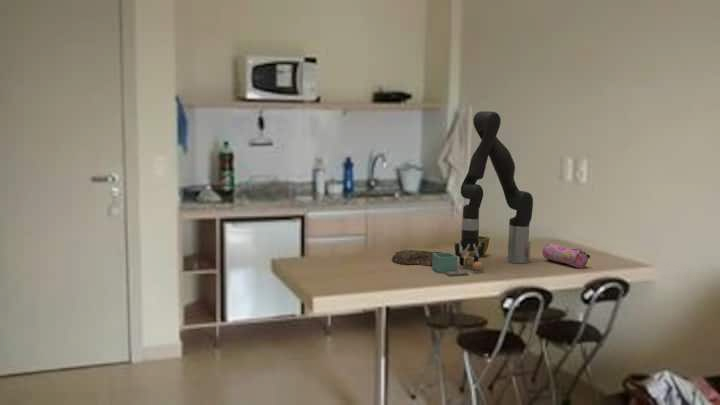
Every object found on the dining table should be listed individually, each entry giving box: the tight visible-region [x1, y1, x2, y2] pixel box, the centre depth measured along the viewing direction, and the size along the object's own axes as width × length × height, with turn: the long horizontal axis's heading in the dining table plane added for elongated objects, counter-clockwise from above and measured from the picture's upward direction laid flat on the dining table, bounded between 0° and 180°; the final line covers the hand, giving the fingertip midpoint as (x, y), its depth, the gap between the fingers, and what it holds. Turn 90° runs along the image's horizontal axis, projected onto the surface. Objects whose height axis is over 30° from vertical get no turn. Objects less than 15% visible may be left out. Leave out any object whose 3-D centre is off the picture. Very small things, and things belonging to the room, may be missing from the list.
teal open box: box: [431, 252, 458, 274], centre depth 320 cm, size 8×8×7 cm
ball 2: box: [473, 261, 483, 270], centre depth 318 cm, size 4×4×4 cm
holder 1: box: [462, 263, 474, 270], centre depth 327 cm, size 4×4×1 cm
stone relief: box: [391, 249, 443, 268], centre depth 341 cm, size 26×4×30 cm
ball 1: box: [464, 256, 474, 266], centre depth 326 cm, size 4×4×4 cm
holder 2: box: [471, 269, 484, 274], centre depth 318 cm, size 4×4×1 cm
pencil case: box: [542, 241, 591, 270], centre depth 337 cm, size 21×9×9 cm, turn 33°
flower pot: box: [467, 235, 491, 258], centre depth 352 cm, size 9×9×9 cm
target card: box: [444, 270, 469, 277], centre depth 314 cm, size 9×5×1 cm, turn 106°
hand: (468, 265), depth 326 cm, fingers open, 6 cm apart
